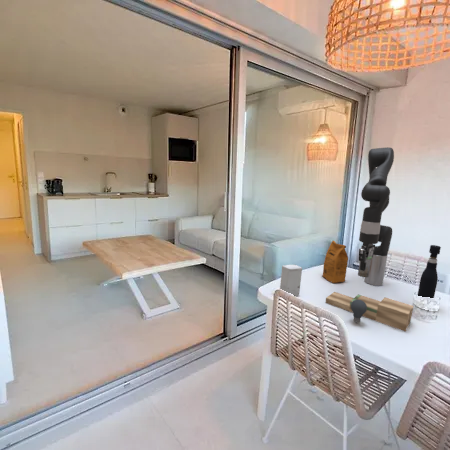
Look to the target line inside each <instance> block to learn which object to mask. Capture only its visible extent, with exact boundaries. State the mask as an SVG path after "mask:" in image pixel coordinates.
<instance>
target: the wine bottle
mask: <svg viewBox="0 0 450 450" xmlns="http://www.w3.org/2000/svg"><path fill="white" fill-rule="evenodd" d="M441 248H442V247H441V246H439V245H436V244H431V245H430V246H429V250H428V252H429V253H430V255H429V258H428V260H427V262H426V267H425V268H424V270H423V272H422V274H421V275H420V280H419V285H418V291H417V295H418V296H422V297H430V298H434V299H435V294H436V291H437V290H436V289H437V285H438V271H437V267H438V255H441V254H440V252H441Z"/></svg>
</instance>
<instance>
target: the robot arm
mask: <svg viewBox="0 0 450 450" xmlns="http://www.w3.org/2000/svg"><path fill="white" fill-rule="evenodd" d="M367 156H368V157H367V162H368V164H367V165H368V175H369V178H368V181H367V183H366V184H365V185H364V186H363V188H362V189H361V193H360V195H361V199H362V200H363V201H365V202H369V206H367V207H364V209H363V213H362V214H363V215H362V221H361V223H360V229H359V230H360V231H359V238H358V241H359V242H360V243H362V245H361V248H359V249H358V262H359V263H360V270H363V271H364V270H365V268H366V262H367V258H369V255H370V252H371V250H372V259H371V264H370V271H369V277H367V278H365V277H364V282H365V283H366V284H368V285H371V286H375V287H376V286H378V287H380V286H383V284H384V280H385V273H386V268H387V267H386V266H387V261H388V254H389V250H390V246H391V241H392V237H393V228H392V226H389V225H388V226H387V225H382V224H381V223H382V213H383V212H385V211H386V209H387V207H388V206H389V204H390V195H391V190H390V187H388V186H387V181H388V176H389V173H390V171H391V169H392V167H393V165H394V159H395V152H394V149H393V148H392V147H379V148H377V147H376V148H371V149H369V151H368V155H367ZM378 243H380V245H376V244H378ZM366 254H367V255H366ZM362 257H363V259H362Z"/></svg>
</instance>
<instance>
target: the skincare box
mask: <svg viewBox="0 0 450 450" xmlns="http://www.w3.org/2000/svg"><path fill="white" fill-rule="evenodd" d="M302 273H303V267H301V266H300V265H297V264H286V265H285V264H284V265H281V273H280V274H281V275H280V285H279V290H280V289H282V290H284V291H286V292H288V293H291V294H293V295H295V296H294V297H299V296H300V291H301V281H302Z"/></svg>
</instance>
